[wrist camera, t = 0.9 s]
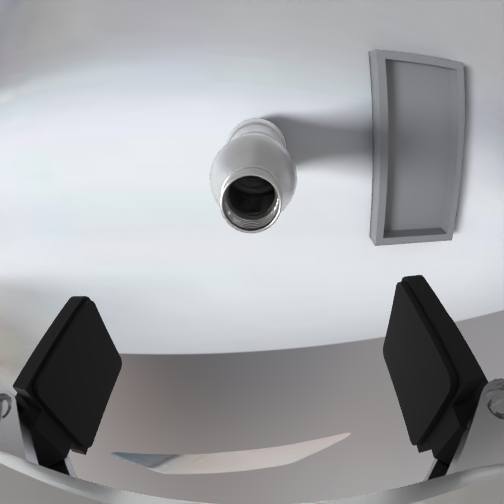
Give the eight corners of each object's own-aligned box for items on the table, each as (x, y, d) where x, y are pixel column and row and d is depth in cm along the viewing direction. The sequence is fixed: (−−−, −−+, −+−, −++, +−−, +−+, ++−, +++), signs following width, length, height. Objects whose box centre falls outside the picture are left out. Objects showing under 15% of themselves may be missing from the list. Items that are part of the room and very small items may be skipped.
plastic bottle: (288, 120, 34) (317, 153, 16) (280, 175, 37) (296, 261, 20) (231, 113, 34) (198, 139, 16) (226, 169, 37) (192, 249, 19)
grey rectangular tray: (368, 51, 29) (376, 49, 27) (452, 63, 28) (463, 63, 26) (369, 236, 41) (375, 245, 38) (443, 231, 40) (451, 240, 37)
